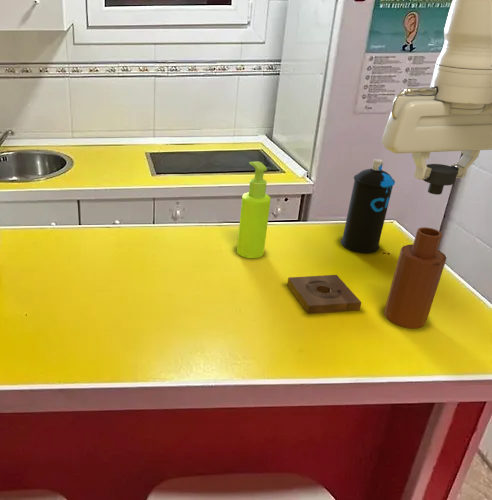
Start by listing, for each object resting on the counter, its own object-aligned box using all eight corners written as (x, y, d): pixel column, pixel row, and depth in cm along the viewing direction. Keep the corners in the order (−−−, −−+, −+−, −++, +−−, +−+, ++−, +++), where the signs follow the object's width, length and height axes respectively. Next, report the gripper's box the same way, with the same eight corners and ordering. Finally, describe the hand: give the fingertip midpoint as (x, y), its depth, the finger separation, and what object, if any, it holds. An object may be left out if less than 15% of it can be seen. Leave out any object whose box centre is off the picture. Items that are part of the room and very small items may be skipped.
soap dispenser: (256, 243, 119) (266, 158, 110) (267, 257, 113) (279, 169, 104) (231, 244, 118) (239, 160, 109) (241, 259, 112) (251, 170, 103)
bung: (438, 186, 85) (445, 163, 83) (457, 197, 81) (464, 172, 79) (412, 188, 84) (418, 164, 82) (430, 198, 80) (436, 173, 78)
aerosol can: (333, 244, 119) (350, 159, 109) (351, 233, 124) (368, 152, 114) (368, 257, 113) (389, 169, 104) (385, 245, 118) (406, 160, 109)
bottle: (411, 305, 96) (436, 222, 89) (434, 327, 91) (462, 240, 83) (377, 307, 96) (398, 224, 88) (397, 330, 90) (422, 242, 82)
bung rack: (335, 282, 104) (336, 274, 103) (359, 310, 95) (361, 302, 94) (287, 285, 103) (288, 277, 102) (307, 314, 94) (309, 305, 93)
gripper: (409, 92, 71) (387, 187, 77) (545, 88, 73) (512, 181, 80) (385, 84, 77) (366, 173, 83) (511, 81, 79) (484, 168, 85)
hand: (439, 177), depth 81 cm, fingers closed on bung, 4 cm apart
